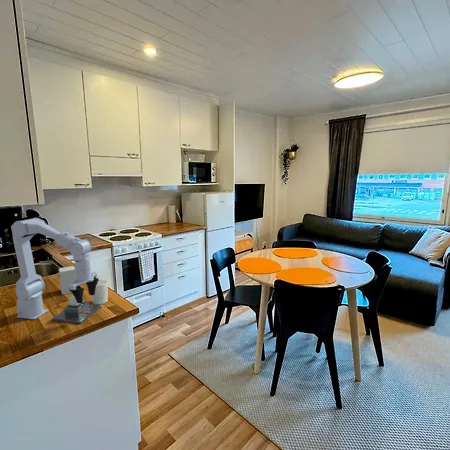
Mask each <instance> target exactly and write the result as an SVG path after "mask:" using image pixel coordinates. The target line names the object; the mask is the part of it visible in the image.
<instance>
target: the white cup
mask: <svg viewBox="0 0 450 450" xmlns="http://www.w3.org/2000/svg"><path fill="white" fill-rule="evenodd" d="M108 295H109V286H108V280H107V279H99V281H98V283H97V285H96V289H95V294H94V295H91V299H92V304H93V305H97V306H100V305H102V304H105V303H107V302H108V299H109V298H108Z"/></svg>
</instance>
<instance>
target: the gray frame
mask: <svg viewBox="0 0 450 450" xmlns="http://www.w3.org/2000/svg"><path fill="white" fill-rule="evenodd" d="M83 302H84V304H82V305H80V307H79V308H71V307H70V306H69V304H68V305H66V306H65V307H63V309H64V310H63V311H61V312H59V313H58V314H56V315H54V316H53V317H52V318H51V321H53V322H63V323H69V324H70V323H72V324H80V325H81V324H82V323H83V322H85V321H86V320H87V319H89V318H90V317H92V316H93V315H94V314H95V313H97V312H98V311H99V310H100V309H102V305H97V304H90V301H84V300H83Z"/></svg>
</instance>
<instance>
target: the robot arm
mask: <svg viewBox="0 0 450 450" xmlns="http://www.w3.org/2000/svg"><path fill="white" fill-rule="evenodd" d="M10 228H11V232H12V241H13V245H14V250H15V255H16V259H17V264H18V269H19V273H20V277H19V279H18V280H17V281H16V283H15V295H16V296H17V297H18V298H17V300H16V310H17V316H16V318H19V319H29V320H36V319H38V318H39V317H40V316H42V315H44V314H46V313H48V312H49V310H50V309H46V308H44V303H43V295H42V294H43V293H44V292H43V291H44V290H45V288H46V285H45V284H46V283H45V282H44V280H43V277H42V276H41V275H40V274H37V272H36V267H35V263H34V257H33V252H32V247H31V242H30V241H31V239H32V238H33V237H34V236H35V235H37V234H41V235H43V236H45V237H48V238H50V239H52V240H55V242H56V244H57V245H58V246H60V247H63V248H65V249H66V250H69V252H70V254H71V255H72V259H73V261H74V268H75V274H76V280H75V281H74V282H73V283H72V284H71V285H70V288H69V291H70V292H71V293H70V294H72V296H73V295H74V297H75V299H76V301H77V303H83V301H84V296H83V295H84V291H85V288H84V287H81V286H82V285H84V284H86V286H87V289H88V290H87V291H88V294H89V296H92V295H94V294H95V289H96V285H97V283H98V281H99V280H100V279H99V278H98V272H95V271H93V272H92V267H91V266H92V265H91V258H90V252H91V250H92V248H93V246H92V243H91V242H90V241H89V240H88V239H86V238H83V239H81V238H79V237H77V236H74V235H72V234H71V233H70V232H69V231H63V232H60V231H58V230H57V229H55V228H53V227H52V226H50V225H48V224H47V223H46V222H45V220H43V219H41V218H38V217H33V218H29V219H24V220H16V221H15V222H14V223H13V224H12V225H11V226H10Z"/></svg>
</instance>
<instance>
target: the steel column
mask: <svg viewBox="0 0 450 450" xmlns="http://www.w3.org/2000/svg"><path fill="white" fill-rule="evenodd" d="M82 304H84V302H83V303H77V301H76V299H75V297H74V295H73V294H72V296H69V297H68V305H69V306H70V307H71V308H79V307H80V305H82Z"/></svg>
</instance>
